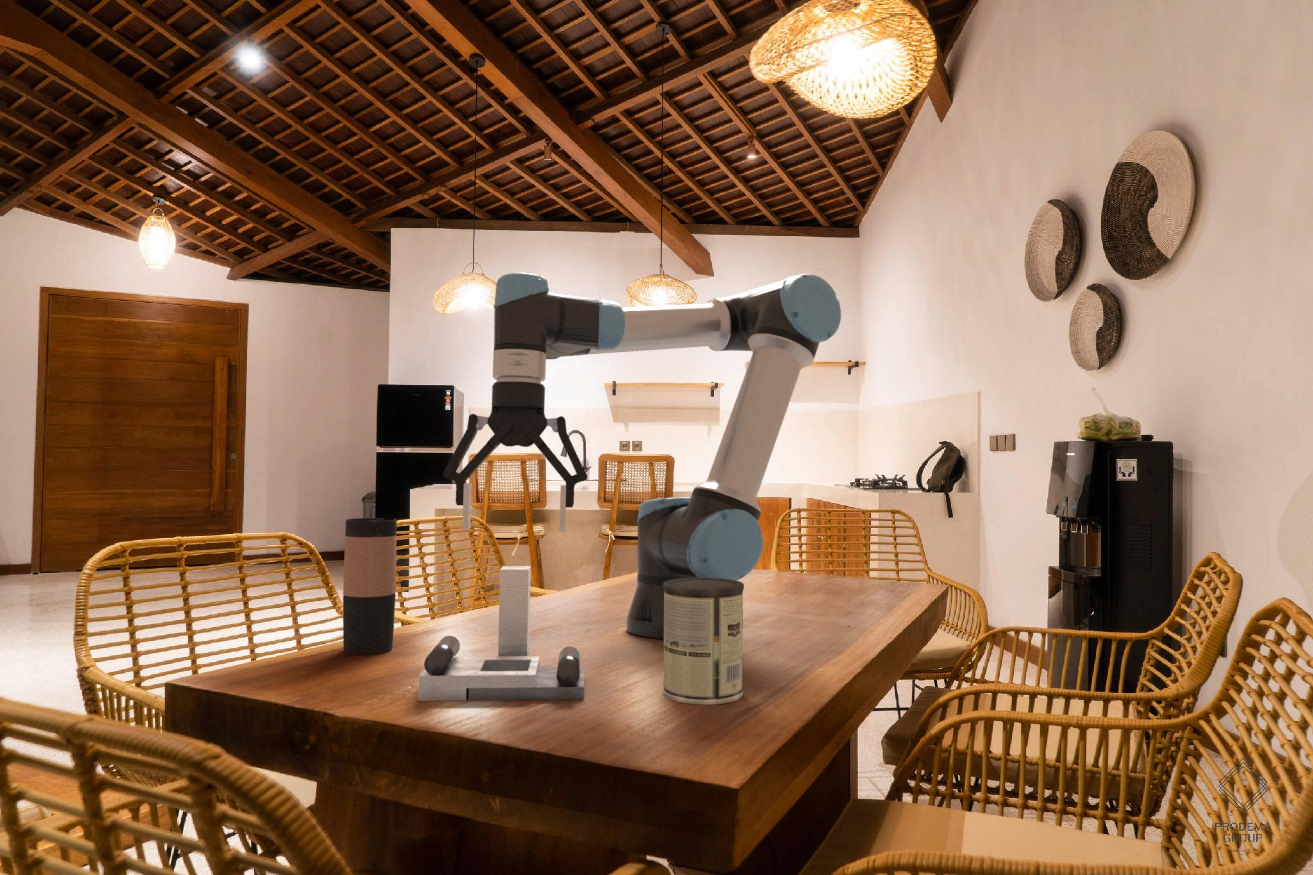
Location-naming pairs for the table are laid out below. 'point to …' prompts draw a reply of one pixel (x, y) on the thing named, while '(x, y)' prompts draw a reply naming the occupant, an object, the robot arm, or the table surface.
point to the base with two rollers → (498, 676)
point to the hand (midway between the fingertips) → (514, 530)
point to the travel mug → (369, 585)
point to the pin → (514, 611)
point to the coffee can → (703, 640)
